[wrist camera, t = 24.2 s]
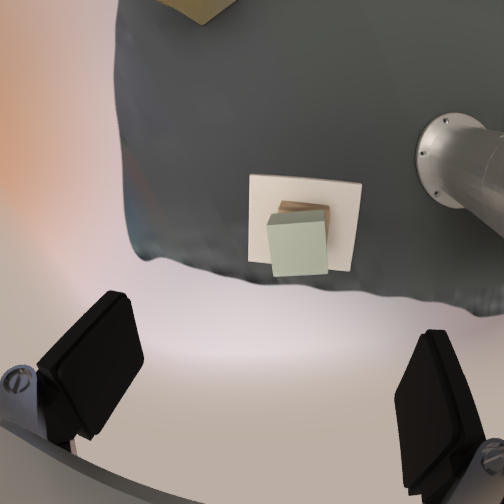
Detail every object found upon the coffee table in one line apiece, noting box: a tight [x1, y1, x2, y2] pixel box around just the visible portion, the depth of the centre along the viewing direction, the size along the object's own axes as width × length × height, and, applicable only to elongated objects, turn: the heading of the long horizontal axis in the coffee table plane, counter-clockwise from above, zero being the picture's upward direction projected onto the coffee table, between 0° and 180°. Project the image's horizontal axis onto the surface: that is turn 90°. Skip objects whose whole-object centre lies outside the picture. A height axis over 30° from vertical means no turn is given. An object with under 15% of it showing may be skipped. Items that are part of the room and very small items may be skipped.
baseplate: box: [248, 174, 362, 272], centre depth 41 cm, size 14×12×1 cm
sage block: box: [266, 210, 328, 277], centre depth 35 cm, size 6×6×4 cm
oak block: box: [278, 200, 330, 244], centre depth 38 cm, size 6×6×4 cm
